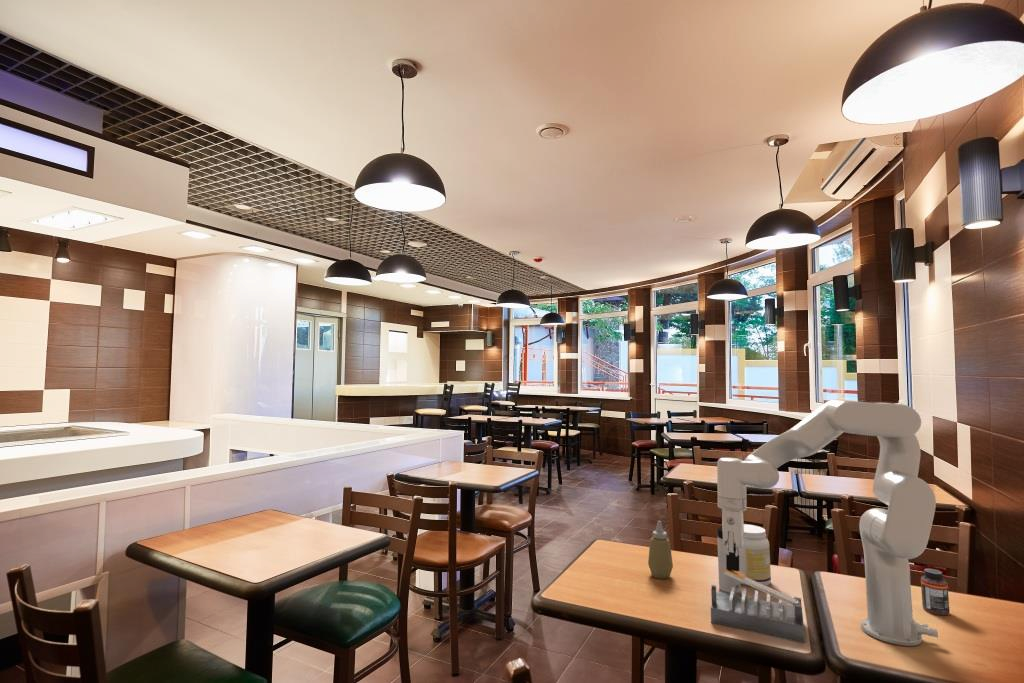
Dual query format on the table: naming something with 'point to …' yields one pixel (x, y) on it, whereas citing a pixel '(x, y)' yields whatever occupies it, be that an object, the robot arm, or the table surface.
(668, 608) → the table surface
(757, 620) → the heatsink block
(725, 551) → the travel mug
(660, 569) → the squeeze bottle
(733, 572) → the white orange stick
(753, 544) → the supplement tub
